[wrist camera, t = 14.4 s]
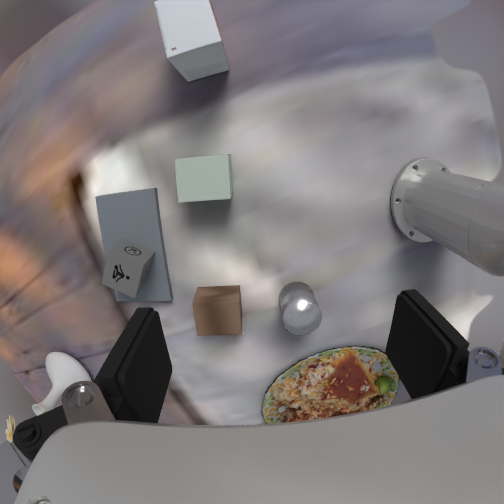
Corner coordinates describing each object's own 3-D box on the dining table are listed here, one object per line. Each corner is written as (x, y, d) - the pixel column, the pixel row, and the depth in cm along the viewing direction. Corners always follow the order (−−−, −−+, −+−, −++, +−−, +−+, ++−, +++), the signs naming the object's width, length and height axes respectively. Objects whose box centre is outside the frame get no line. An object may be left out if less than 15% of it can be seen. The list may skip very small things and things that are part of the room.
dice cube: (123, 238, 37) (108, 250, 33) (155, 251, 38) (143, 265, 33) (116, 269, 39) (101, 283, 34) (146, 281, 40) (135, 298, 35)
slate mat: (156, 187, 36) (154, 189, 35) (172, 297, 42) (171, 300, 41) (98, 195, 36) (95, 196, 35) (119, 298, 42) (116, 301, 41)
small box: (229, 71, 31) (223, 42, 22) (187, 83, 32) (166, 60, 22) (215, 22, 29) (205, -16, 19) (174, 34, 29) (152, 1, 19)
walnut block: (239, 285, 41) (239, 302, 37) (242, 315, 43) (241, 334, 38) (198, 286, 41) (192, 303, 37) (202, 316, 43) (197, 335, 38)
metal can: (313, 280, 41) (323, 300, 35) (312, 310, 43) (320, 333, 37) (278, 283, 41) (283, 303, 35) (279, 313, 43) (283, 336, 37)
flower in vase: (74, 343, 45) (9, 439, 21) (105, 387, 49) (61, 484, 25) (37, 351, 46) (-22, 429, 23) (65, 390, 50) (21, 471, 26)
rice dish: (276, 334, 46) (278, 355, 41) (418, 342, 46) (430, 359, 41) (252, 432, 55) (252, 451, 50) (366, 432, 55) (372, 449, 50)
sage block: (230, 154, 35) (228, 154, 31) (232, 192, 37) (230, 198, 32) (183, 158, 35) (174, 159, 31) (187, 195, 37) (178, 202, 32)
